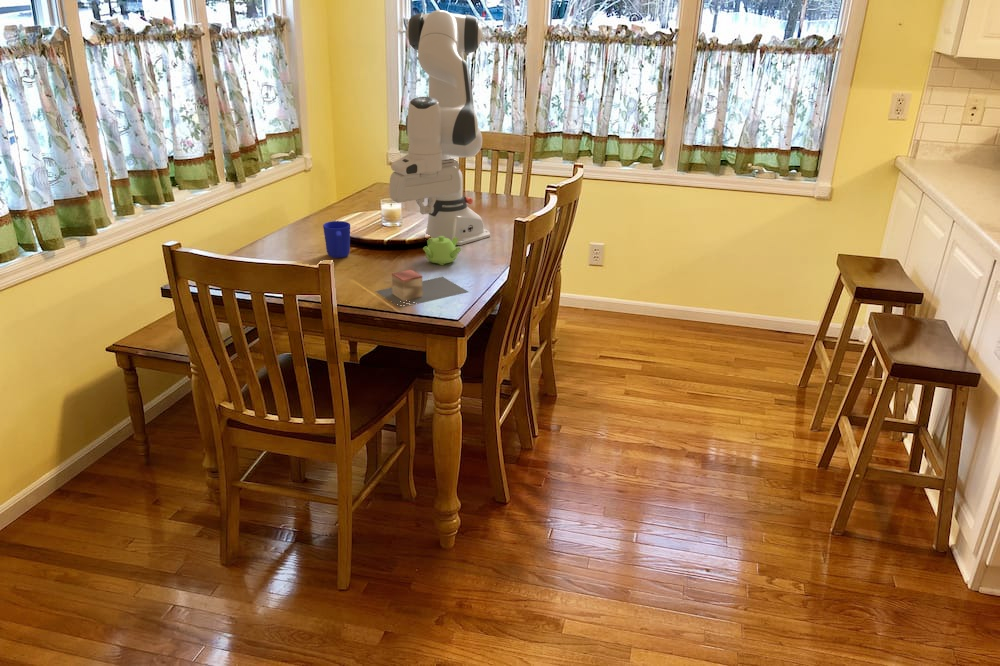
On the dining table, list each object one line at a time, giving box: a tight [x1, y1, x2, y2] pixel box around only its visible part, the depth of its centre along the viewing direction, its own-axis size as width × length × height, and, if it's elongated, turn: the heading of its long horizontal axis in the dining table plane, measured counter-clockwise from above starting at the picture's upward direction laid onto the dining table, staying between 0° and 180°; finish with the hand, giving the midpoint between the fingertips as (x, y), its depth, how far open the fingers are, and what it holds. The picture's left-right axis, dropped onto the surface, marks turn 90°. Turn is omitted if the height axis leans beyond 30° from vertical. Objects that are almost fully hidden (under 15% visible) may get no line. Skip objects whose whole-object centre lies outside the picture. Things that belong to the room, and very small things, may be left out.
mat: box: [375, 276, 469, 309], centre depth 224 cm, size 22×14×1 cm, turn 125°
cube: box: [391, 269, 423, 301], centre depth 220 cm, size 6×6×6 cm
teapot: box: [422, 236, 462, 266], centre depth 246 cm, size 11×12×8 cm
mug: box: [322, 220, 351, 259], centre depth 247 cm, size 8×12×10 cm
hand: (426, 213), depth 216 cm, fingers closed
